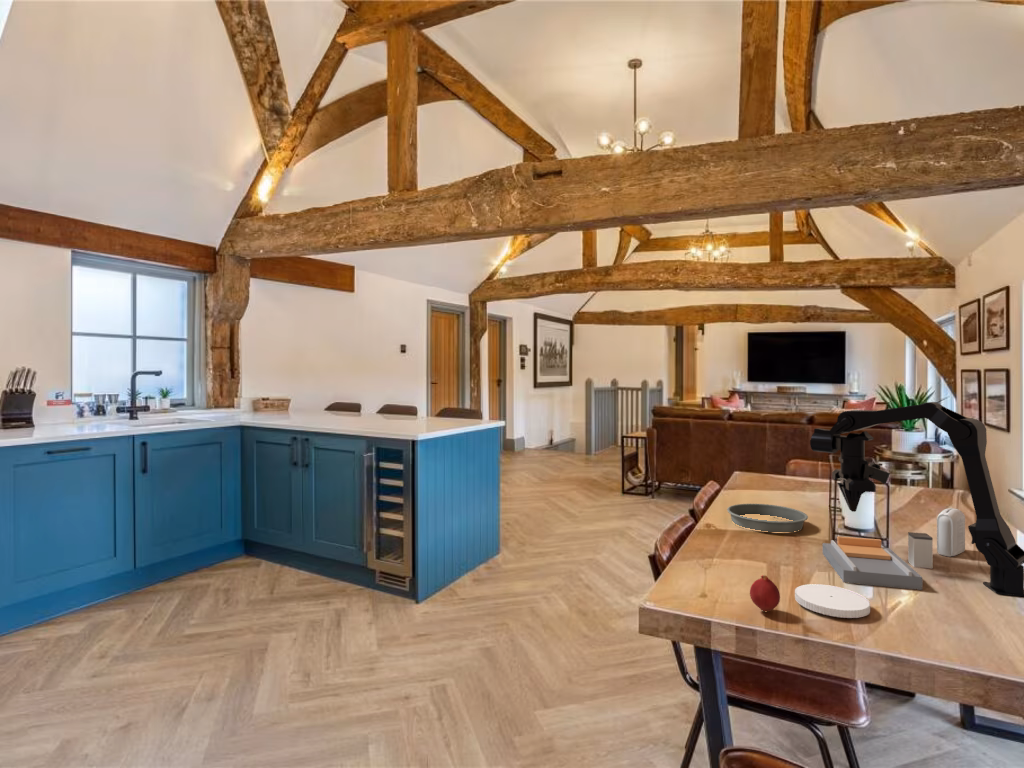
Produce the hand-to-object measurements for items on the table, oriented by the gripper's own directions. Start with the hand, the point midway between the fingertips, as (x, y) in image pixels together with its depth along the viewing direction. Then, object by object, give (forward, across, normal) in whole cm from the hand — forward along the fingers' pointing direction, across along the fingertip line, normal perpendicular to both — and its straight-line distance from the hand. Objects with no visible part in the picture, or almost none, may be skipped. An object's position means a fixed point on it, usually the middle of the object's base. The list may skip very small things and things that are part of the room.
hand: (852, 510), depth 150 cm
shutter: (+9, -9, 0) cm, 13 cm away
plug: (+12, -6, -14) cm, 19 cm away
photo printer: (+12, +8, -26) cm, 30 cm away
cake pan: (+12, +26, +19) cm, 34 cm away
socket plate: (+12, -14, 0) cm, 18 cm away
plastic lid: (+12, -40, +14) cm, 45 cm away
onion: (+12, -48, +28) cm, 56 cm away
